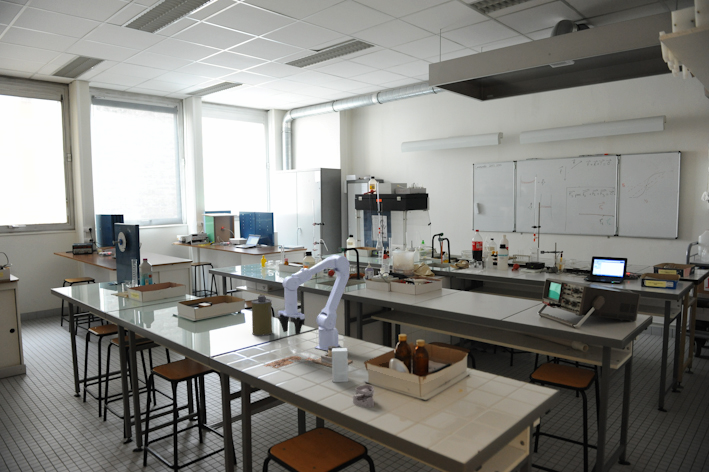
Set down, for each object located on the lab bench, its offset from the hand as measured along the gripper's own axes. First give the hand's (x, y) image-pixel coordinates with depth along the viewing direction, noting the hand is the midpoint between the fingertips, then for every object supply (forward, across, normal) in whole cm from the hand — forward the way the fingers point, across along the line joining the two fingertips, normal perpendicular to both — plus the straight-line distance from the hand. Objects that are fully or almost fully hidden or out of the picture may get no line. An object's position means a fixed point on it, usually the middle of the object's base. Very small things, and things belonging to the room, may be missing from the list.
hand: (291, 332), depth 213 cm
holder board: (+9, +23, 0) cm, 25 cm away
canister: (+10, -36, +16) cm, 41 cm away
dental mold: (+10, +58, -26) cm, 64 cm away
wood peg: (+9, +23, 0) cm, 25 cm away
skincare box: (+10, +38, -14) cm, 42 cm away
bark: (+10, +8, -11) cm, 17 cm away
